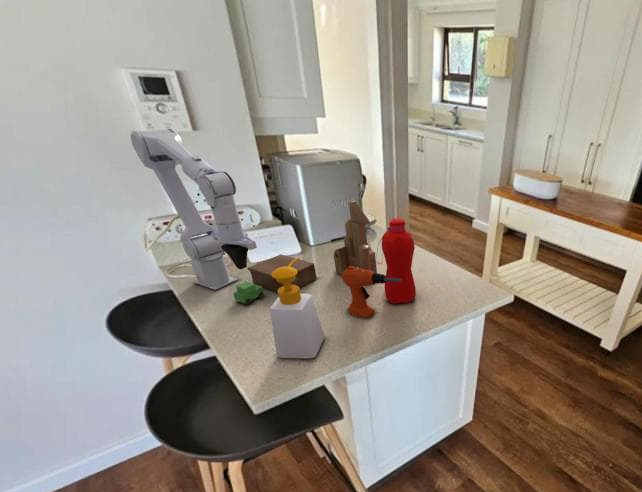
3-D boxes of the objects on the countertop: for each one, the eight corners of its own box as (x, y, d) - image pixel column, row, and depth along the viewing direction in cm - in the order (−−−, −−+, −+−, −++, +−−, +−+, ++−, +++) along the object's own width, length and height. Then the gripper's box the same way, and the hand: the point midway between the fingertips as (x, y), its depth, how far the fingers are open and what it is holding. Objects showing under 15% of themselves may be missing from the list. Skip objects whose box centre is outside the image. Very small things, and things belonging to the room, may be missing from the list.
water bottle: (378, 291, 117) (372, 215, 104) (412, 289, 120) (411, 213, 106) (381, 306, 110) (374, 226, 96) (417, 303, 112) (416, 224, 99)
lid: (282, 280, 110) (282, 278, 109) (247, 270, 114) (247, 267, 114) (314, 265, 120) (314, 263, 120) (281, 256, 125) (280, 254, 124)
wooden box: (287, 295, 113) (284, 281, 110) (253, 283, 118) (249, 270, 115) (316, 278, 123) (314, 265, 120) (284, 269, 127) (281, 256, 125)
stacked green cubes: (246, 306, 107) (241, 291, 104) (236, 302, 108) (231, 287, 105) (265, 296, 112) (261, 281, 109) (255, 292, 113) (251, 278, 110)
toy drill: (403, 324, 100) (395, 274, 93) (346, 316, 106) (333, 269, 99) (411, 315, 104) (403, 266, 96) (355, 308, 110) (344, 262, 102)
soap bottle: (331, 327, 100) (318, 252, 87) (315, 360, 88) (298, 278, 76) (295, 326, 99) (277, 250, 87) (275, 359, 88) (251, 277, 75)
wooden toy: (334, 272, 127) (323, 200, 113) (349, 266, 132) (340, 195, 118) (367, 285, 120) (359, 210, 107) (381, 278, 125) (375, 205, 111)
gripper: (260, 221, 98) (272, 268, 105) (222, 212, 102) (236, 257, 110) (237, 229, 92) (251, 277, 100) (198, 219, 97) (214, 266, 104)
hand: (242, 267), depth 104 cm, fingers closed
